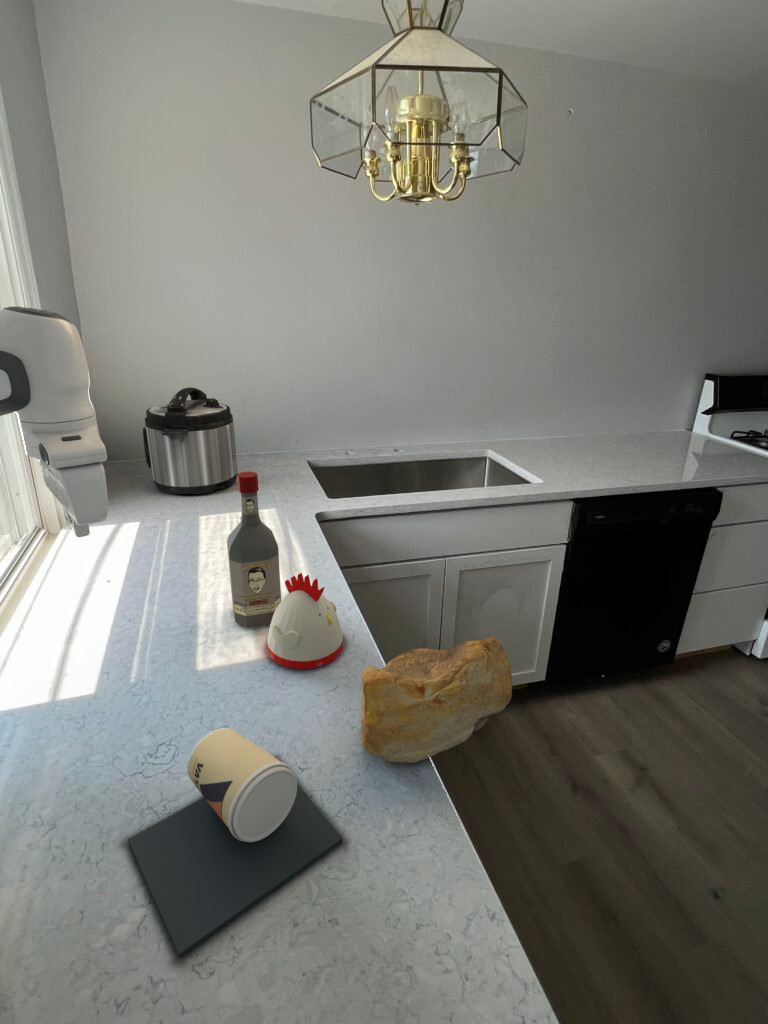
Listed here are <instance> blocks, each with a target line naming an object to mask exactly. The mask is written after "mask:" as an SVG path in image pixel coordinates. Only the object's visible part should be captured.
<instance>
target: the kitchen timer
mask: <svg viewBox="0 0 768 1024" xmlns="http://www.w3.org/2000/svg"><path fill="white" fill-rule="evenodd" d="M284 584H285V588H286V589H287V592H288V594H286V595H285V596H284V597H283V598H282V599H281V602H280V604H279V605H278V607H277V608H276V610H275V612H274V614H273V618H272V621H271V624H269V629H268V633H267V638H266V639H267V640H266V644H267V645H266V646H267V652H268V655H269V657H270V658H271V659H272V661H273V662H275V663H277V664H278V665H280V666H282V667H285V668H289V669H295V670H308V669H309V670H310V669H316V668H319V667H323V666H325V665H328V664H329V663H331V662H333V661H334V660H335V659H336V658H337V657H339V656H340V655H341V653H342V650H343V647H344V646H343V644H344V643H343V642H344V641H343V640H344V639H343V637H344V636H343V629H342V625H341V622H340V620H339V617H338V614H337V606H336V604H335V603H334V602H333V601H331V600H329V599H328V598H327V597H326V596H324V595H323V594H324V591H325V586H323V587H321V588H320V589H319V581H318V578H315V579H313V581H312V583H311V579H310V575H309V574H307V575H305V576H304V575H303V573H302V572H300V573H298V574H297V577H296V576H295V575H293V576H291V577H290V580H289V579H286V580H285V581H284Z"/></svg>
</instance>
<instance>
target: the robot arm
mask: <svg viewBox="0 0 768 1024" xmlns="http://www.w3.org/2000/svg"><path fill="white" fill-rule="evenodd" d="M90 385H91V379H90V373H89V367H88V363H87V357H86V353H85V348H84V345H83V342H82V337H81V336H80V333H79V330H78V329H77V327H76V325H75V324H74V323H72V321H71V320H70V319H68V318H67V317H65V316H64V315H62V314H60V313H57V312H53V311H50V310H43V309H39V308H32V307H23V306H7V307H4V308H2V309H1V310H0V417H2V416H5V415H9V414H12V413H15V414H16V415H17V419H18V424H19V428H20V433H21V437H22V440H23V441H22V442H23V446H24V447H23V448H24V451H25V454H26V456H28V457H30V458H33V459H37V460H38V462H39V466H40V467H41V472H42V477H43V481H44V483H45V486H46V488H48V490H49V491H50V492H51V494H52V495H53V496H54V497H55V498H56V500H57V501H58V503H60V505H61V506H62V507H63V509H64V511H65V513H66V517H67V519H68V522H69V527H70V530H71V531H72V532H73V534H74V535H75V536H76V537H77V538H83V537H88V536H89V535H90V533H91V531H90V525H94V524H98V523H102V522H105V521H107V519H108V515H109V498H108V488H107V487H108V485H107V478H106V471H105V467H104V464H103V462H106V461H107V460H108V454H107V448H106V446H105V443H104V442H103V439H102V437H101V434H100V429H99V426H98V420H97V414H96V409H95V406H94V405H93V403H92V401H91V397H90Z"/></svg>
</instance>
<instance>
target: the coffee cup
mask: <svg viewBox="0 0 768 1024" xmlns="http://www.w3.org/2000/svg"><path fill="white" fill-rule="evenodd" d="M276 758H277V757H275V756H274V755H272V754H271V753H269V752H268V751H266V750H264V749H263V748H262V747H260V746H259V745H257V743H256V744H255V742H253V741H251V740H250V739H248V738H247V737H246V736H244V735H242V734H241V733H239V732H238V731H236V730H234V729H233V728H230V727H220V728H217V729H214V730H212V731H210V732H208V733H207V734H206V735H204V736H203V737H202V738H201V739H200V740H199V741H198V742H197V744H196V745H195V746H194V747H193V749H192V750H191V753H190V755H189V757H188V761H187V767H186V768H187V769H186V770H187V774H188V777H189V779H190V781H191V782H192V784H193V785H194V786H195V787H196V789H197V790H198V792H199V793H200V794H201V795H202V797H204V798H205V799H206V800H207V802H208V803H209V804H210V805H211V807H212V808H213V809H214V811H215V812H216V813H217V814H218V816H219V817H220V818H221V819H222V821H223V822H224V823H225V824H226V825H227V827H228V828H229V830H230V832H231V833H232V835H233V836H234V837H235V838H236V839H238V840H240V841H245V842H255V841H259V840H261V839H263V838H265V837H267V836H268V835H270V834H271V833H272V832H273V831H274V830H276V829H277V828H278V827H279V826H280V824H281V823H282V822H283V821H284V819H285V818H286V817H287V815H288V813H289V812H290V810H291V808H292V806H293V803H294V801H295V798H296V793H297V784H298V781H297V778H296V773H295V772H294V770H293V768H292V767H291V766H289V765H288V764H286V763H284V762H282V761H281V760H280V759H278V758H277V759H276Z"/></svg>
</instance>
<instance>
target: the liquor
mask: <svg viewBox="0 0 768 1024" xmlns="http://www.w3.org/2000/svg"><path fill="white" fill-rule="evenodd" d="M258 475H259V474H258V473H257V472H255V471H242V472H239V473H237V478H236V481H237V491H238V492H239V494H240V495H239V497H240V509H241V511H240V512H241V513H240V514H241V516H240V522H239V523H238V524H237V525H236V526H235V527H234V528H233V530H232V531H231V532H230V534H228V536H227V539H226V548H227V557H228V558H227V559H228V570H229V581H230V592H231V604H232V611H233V617H234V622H235V623H236V624H237V625H239V626H241V627H245V628H247V629H248V628H254V627H255V628H256V627H261V626H266V625H267V626H268V625H270V624H271V621H272V618H273V614H274V612H275V610H276V608H277V607H278V605H279V604H280V602H281V601H282V593H281V592H282V591H281V576H280V575H281V573H280V572H281V571H280V555H279V554H280V553H279V545H278V543H277V540H276V537H275V535H274V533H273V530H272V529H271V528H270V527H268V526H267V525H266V524H265V523H264V522H262V520H261V517H260V513H259V512H260V511H259V498H258V491H259V477H258Z"/></svg>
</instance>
